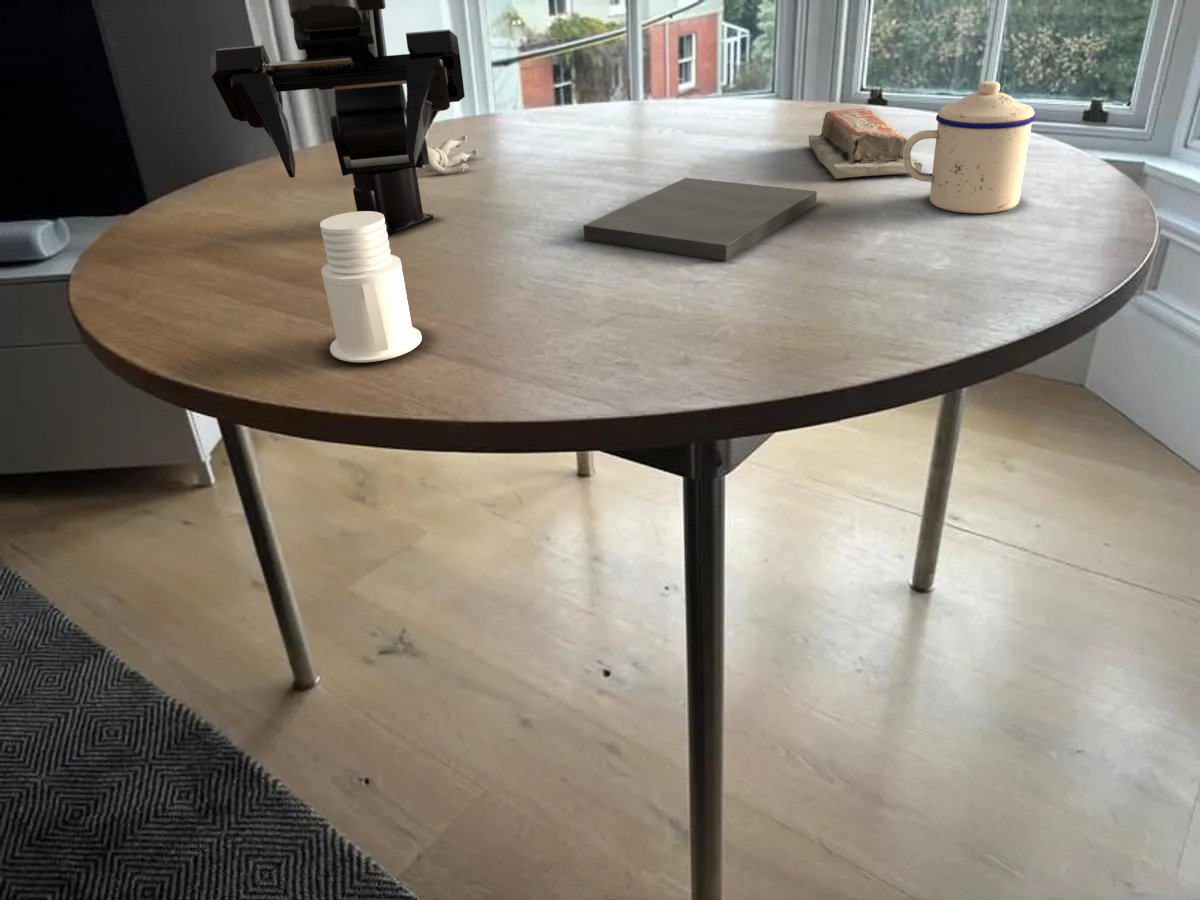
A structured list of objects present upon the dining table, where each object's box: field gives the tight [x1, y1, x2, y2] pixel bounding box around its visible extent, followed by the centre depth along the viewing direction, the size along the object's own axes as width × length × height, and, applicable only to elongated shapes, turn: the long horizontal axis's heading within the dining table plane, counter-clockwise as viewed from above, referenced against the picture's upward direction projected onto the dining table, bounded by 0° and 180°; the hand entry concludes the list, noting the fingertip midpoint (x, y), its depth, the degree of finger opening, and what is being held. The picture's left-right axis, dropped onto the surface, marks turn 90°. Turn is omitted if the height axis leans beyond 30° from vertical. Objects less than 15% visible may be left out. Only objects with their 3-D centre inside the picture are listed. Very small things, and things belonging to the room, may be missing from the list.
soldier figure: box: [416, 122, 479, 175], centre depth 123 cm, size 8×5×12 cm
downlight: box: [319, 211, 423, 363], centre depth 70 cm, size 8×7×10 cm
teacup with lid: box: [903, 80, 1036, 214], centre depth 93 cm, size 12×9×12 cm
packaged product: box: [808, 107, 923, 180], centre depth 113 cm, size 18×5×10 cm
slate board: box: [582, 177, 818, 262], centre depth 95 cm, size 20×16×2 cm
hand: (351, 168), depth 71 cm, fingers open, 9 cm apart
